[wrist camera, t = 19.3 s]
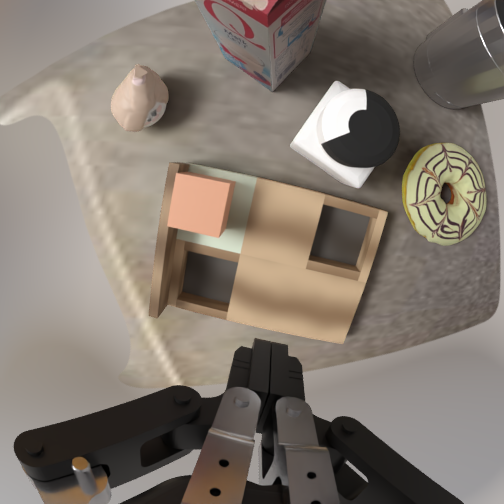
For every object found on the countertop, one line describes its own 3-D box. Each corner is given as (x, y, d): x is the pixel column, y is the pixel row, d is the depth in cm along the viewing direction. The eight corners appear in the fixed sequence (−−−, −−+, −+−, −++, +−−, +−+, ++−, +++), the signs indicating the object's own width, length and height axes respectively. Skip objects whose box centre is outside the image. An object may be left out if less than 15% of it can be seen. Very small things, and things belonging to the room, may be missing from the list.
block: (188, 171, 31) (176, 172, 27) (235, 181, 31) (229, 183, 27) (179, 218, 32) (167, 226, 28) (225, 229, 32) (218, 238, 28)
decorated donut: (446, 256, 34) (462, 266, 30) (378, 206, 33) (390, 211, 29) (485, 182, 30) (504, 185, 27) (423, 125, 30) (439, 122, 26)
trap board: (187, 162, 33) (169, 162, 27) (380, 208, 33) (400, 218, 27) (166, 294, 37) (148, 315, 32) (339, 333, 37) (348, 360, 31)
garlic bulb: (183, 117, 32) (157, 104, 24) (135, 141, 33) (99, 137, 25) (165, 69, 30) (137, 47, 22) (119, 94, 31) (82, 80, 23)
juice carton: (272, 92, 30) (264, -18, 9) (225, 58, 29) (157, -62, 8) (310, 52, 28) (350, -77, 7) (263, 20, 28) (245, -118, 7)
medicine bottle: (377, 133, 30) (425, 121, 19) (343, 184, 32) (377, 196, 21) (324, 95, 30) (348, 61, 18) (288, 146, 32) (295, 136, 20)
